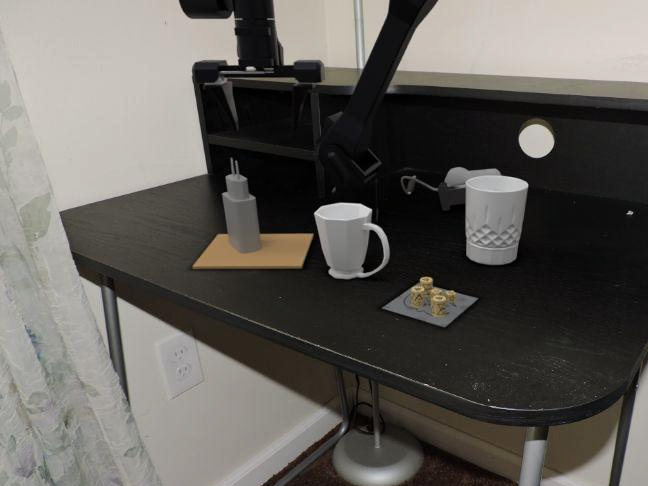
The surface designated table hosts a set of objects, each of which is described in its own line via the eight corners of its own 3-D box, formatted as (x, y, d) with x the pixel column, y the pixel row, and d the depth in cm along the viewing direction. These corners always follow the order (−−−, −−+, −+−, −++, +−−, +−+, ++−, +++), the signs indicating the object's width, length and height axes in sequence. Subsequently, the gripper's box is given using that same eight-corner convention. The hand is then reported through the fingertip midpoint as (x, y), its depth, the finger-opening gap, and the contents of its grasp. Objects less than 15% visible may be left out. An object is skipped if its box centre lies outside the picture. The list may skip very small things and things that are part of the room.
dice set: (441, 318, 61) (442, 302, 60) (401, 306, 64) (401, 291, 63) (463, 300, 65) (463, 285, 64) (424, 290, 67) (424, 275, 66)
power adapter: (241, 254, 76) (229, 165, 71) (227, 242, 80) (215, 157, 75) (263, 249, 78) (252, 161, 73) (248, 238, 82) (238, 154, 77)
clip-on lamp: (390, 216, 101) (482, 211, 91) (381, 182, 99) (474, 172, 88) (423, 194, 110) (510, 187, 99) (415, 162, 107) (504, 151, 97)
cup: (342, 257, 76) (339, 199, 73) (404, 274, 72) (404, 212, 68) (306, 275, 71) (301, 213, 68) (371, 294, 66) (369, 229, 63)
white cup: (484, 271, 72) (489, 194, 68) (450, 251, 78) (454, 179, 74) (533, 260, 75) (541, 186, 71) (497, 242, 82) (503, 172, 77)
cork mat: (313, 236, 84) (313, 233, 84) (301, 268, 73) (301, 265, 73) (218, 236, 84) (218, 234, 84) (192, 269, 73) (192, 266, 73)
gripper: (325, 19, 89) (331, 122, 96) (206, 19, 89) (220, 122, 96) (317, 19, 79) (324, 134, 86) (182, 19, 79) (200, 134, 86)
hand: (266, 130), depth 89 cm, fingers open, 9 cm apart
